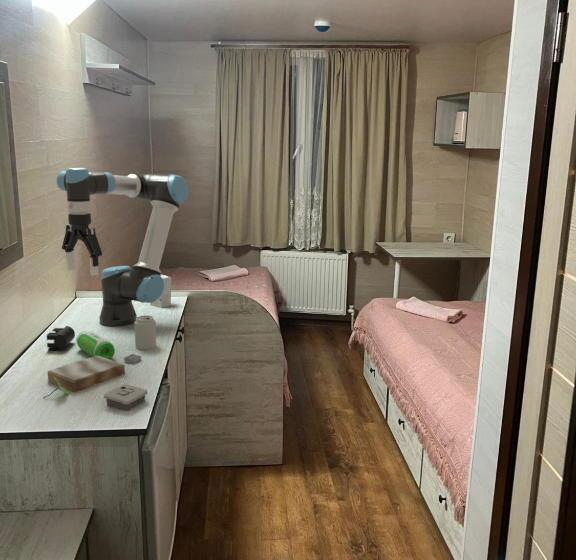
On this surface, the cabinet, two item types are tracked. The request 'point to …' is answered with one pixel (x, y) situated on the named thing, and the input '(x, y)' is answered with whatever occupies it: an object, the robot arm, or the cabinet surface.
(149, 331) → the can
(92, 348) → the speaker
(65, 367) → the stand
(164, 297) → the skincare box
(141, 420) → the cabinet surface
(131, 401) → the electrical switch
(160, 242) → the robot arm
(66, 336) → the end cap
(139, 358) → the grey square block
